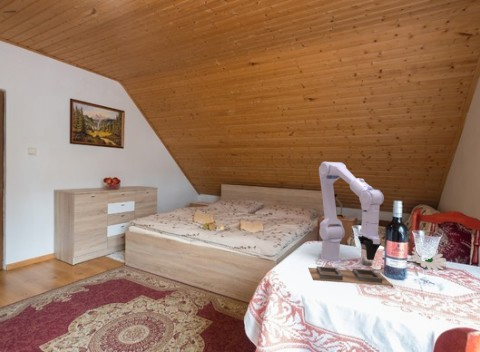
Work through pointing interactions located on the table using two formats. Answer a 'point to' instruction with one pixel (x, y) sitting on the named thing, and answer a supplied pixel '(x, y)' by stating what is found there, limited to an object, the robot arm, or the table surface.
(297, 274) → the table surface
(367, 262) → the metal cylinder
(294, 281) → the table surface
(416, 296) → the table surface
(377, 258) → the beverage cup
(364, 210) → the robot arm
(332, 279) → the dock board
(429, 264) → the flower
